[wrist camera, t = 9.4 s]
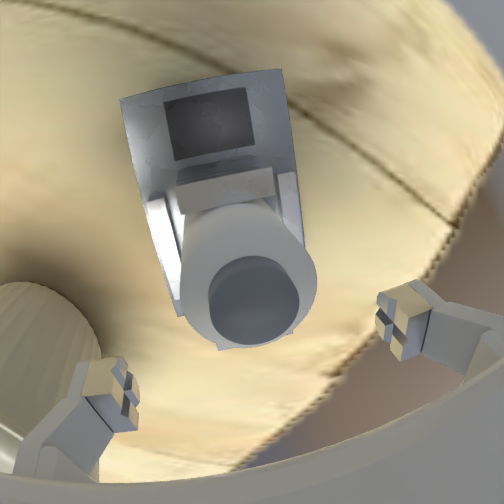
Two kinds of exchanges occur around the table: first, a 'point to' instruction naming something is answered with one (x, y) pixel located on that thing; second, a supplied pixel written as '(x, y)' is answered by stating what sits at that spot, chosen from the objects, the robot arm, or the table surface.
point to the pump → (244, 275)
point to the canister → (37, 360)
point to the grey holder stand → (211, 156)
